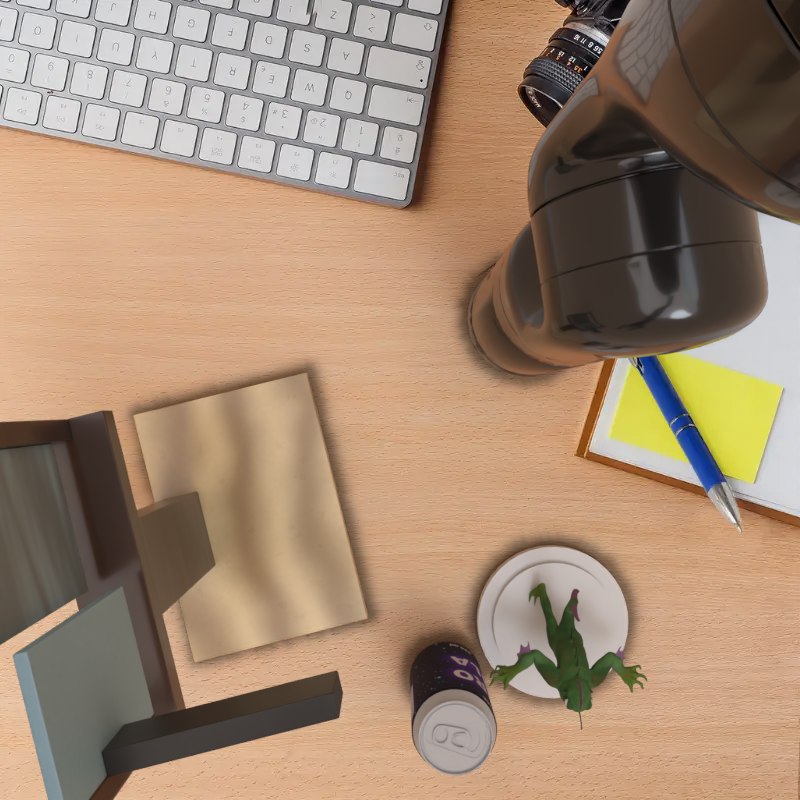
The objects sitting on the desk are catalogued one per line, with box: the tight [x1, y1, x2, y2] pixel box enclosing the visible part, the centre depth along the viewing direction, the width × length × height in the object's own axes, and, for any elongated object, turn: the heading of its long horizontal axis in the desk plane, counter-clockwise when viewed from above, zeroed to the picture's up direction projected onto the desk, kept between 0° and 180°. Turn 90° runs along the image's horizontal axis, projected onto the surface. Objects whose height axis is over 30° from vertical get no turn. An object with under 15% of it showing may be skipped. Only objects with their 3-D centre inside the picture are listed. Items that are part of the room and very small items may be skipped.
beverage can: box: [409, 641, 498, 777], centre depth 56 cm, size 6×6×12 cm
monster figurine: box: [476, 544, 648, 730], centre depth 57 cm, size 12×12×10 cm
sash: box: [12, 586, 344, 800], centre depth 36 cm, size 11×8×11 cm
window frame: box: [0, 409, 216, 800], centre depth 44 cm, size 4×19×34 cm, turn 14°
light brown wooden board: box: [133, 371, 369, 663], centre depth 61 cm, size 14×20×1 cm
